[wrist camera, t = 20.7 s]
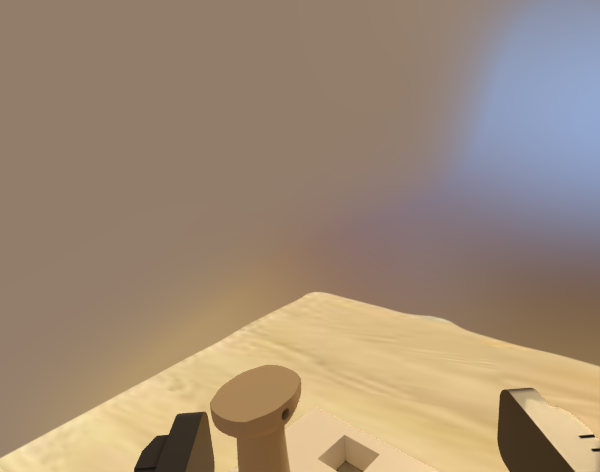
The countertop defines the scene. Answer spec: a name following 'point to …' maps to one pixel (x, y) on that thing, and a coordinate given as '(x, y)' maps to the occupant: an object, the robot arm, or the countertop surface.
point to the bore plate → (341, 447)
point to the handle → (258, 415)
